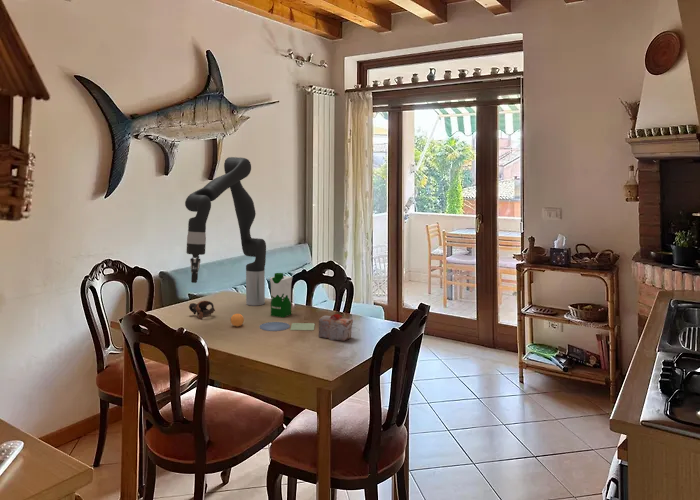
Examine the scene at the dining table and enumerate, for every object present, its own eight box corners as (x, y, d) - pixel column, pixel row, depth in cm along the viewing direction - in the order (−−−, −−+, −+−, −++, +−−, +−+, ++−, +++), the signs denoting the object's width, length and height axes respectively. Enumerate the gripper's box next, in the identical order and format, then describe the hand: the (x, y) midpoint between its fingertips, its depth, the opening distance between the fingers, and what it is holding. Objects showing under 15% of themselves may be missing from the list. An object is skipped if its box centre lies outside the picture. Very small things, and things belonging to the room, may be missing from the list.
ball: (232, 324, 223) (231, 312, 222) (244, 324, 223) (244, 312, 223) (229, 328, 218) (229, 315, 217) (242, 328, 218) (242, 315, 217)
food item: (354, 337, 208) (355, 314, 207) (346, 343, 201) (347, 318, 200) (324, 333, 214) (325, 310, 212) (315, 338, 206) (316, 314, 205)
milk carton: (267, 316, 238) (267, 273, 235) (278, 311, 246) (278, 270, 243) (284, 318, 234) (284, 275, 231) (294, 313, 242) (294, 272, 239)
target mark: (261, 322, 227) (261, 321, 227) (291, 322, 228) (291, 322, 228) (257, 330, 214) (257, 330, 214) (288, 331, 215) (288, 330, 215)
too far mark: (291, 323, 226) (291, 323, 226) (314, 323, 227) (314, 323, 227) (290, 330, 216) (290, 329, 216) (313, 330, 217) (313, 329, 217)
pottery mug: (216, 314, 241) (218, 301, 236) (209, 328, 233) (211, 315, 228) (190, 307, 240) (192, 294, 235) (183, 321, 232) (185, 308, 228)
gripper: (205, 244, 208) (203, 283, 209) (205, 242, 222) (204, 279, 223) (185, 243, 206) (184, 283, 207) (187, 241, 220) (185, 279, 221)
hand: (194, 281), depth 215 cm, fingers open, 8 cm apart
